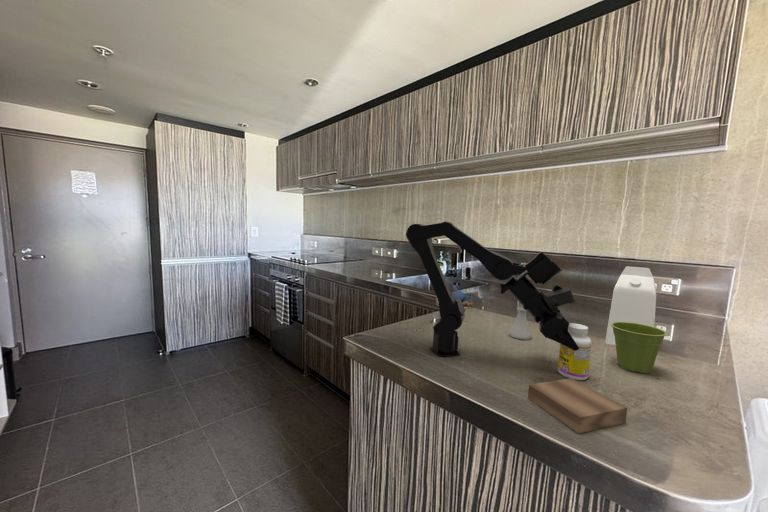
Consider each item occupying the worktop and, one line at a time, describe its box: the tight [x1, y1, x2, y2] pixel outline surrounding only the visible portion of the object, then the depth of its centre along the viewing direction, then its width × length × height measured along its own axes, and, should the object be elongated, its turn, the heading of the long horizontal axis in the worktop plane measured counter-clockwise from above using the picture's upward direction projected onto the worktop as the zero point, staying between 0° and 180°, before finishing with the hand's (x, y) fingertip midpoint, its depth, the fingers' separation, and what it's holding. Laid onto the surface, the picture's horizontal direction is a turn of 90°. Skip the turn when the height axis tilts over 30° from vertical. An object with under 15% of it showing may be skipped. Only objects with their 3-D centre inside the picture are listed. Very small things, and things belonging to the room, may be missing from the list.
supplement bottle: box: [557, 322, 593, 381], centre depth 77 cm, size 7×7×13 cm
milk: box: [604, 266, 657, 346], centre depth 102 cm, size 12×12×26 cm
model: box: [451, 284, 475, 307], centre depth 149 cm, size 12×9×9 cm
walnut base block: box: [527, 378, 628, 434], centre depth 62 cm, size 12×12×3 cm
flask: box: [508, 307, 533, 341], centre depth 106 cm, size 7×7×10 cm
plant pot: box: [611, 322, 668, 374], centre depth 83 cm, size 12×12×11 cm
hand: (573, 343), depth 77 cm, fingers open, 9 cm apart
